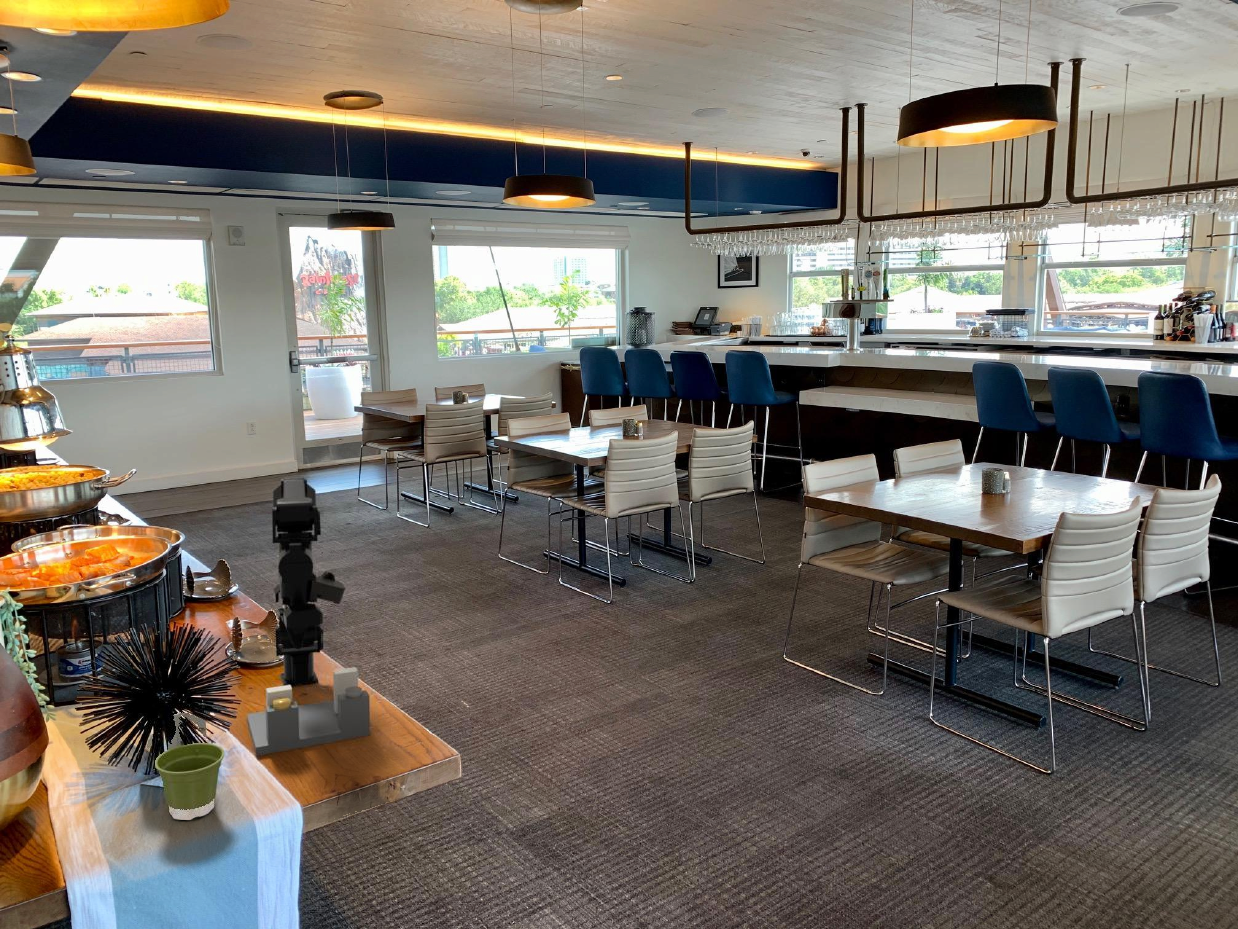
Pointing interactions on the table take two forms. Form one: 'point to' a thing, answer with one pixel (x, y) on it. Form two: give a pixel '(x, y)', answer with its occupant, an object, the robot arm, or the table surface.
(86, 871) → the table surface
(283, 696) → the tall white block
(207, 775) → the plant pot
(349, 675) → the cream upright block
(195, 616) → the table surface
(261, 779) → the table surface
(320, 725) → the grey holder stand
